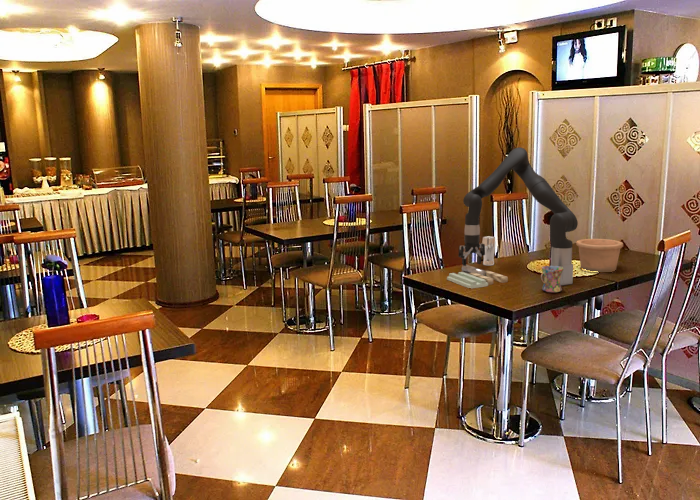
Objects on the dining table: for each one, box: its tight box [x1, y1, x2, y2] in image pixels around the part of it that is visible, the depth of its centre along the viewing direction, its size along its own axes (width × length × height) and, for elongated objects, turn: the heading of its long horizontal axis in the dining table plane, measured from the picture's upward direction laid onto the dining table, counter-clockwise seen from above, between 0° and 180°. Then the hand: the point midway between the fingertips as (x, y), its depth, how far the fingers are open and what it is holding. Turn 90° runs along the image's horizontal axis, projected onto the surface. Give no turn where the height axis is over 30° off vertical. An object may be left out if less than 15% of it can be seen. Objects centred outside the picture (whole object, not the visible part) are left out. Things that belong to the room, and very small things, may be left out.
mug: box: [540, 265, 564, 294], centre depth 262 cm, size 12×9×11 cm
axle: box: [461, 264, 487, 276], centre depth 298 cm, size 16×4×4 cm, turn 22°
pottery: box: [575, 238, 624, 273], centre depth 300 cm, size 22×22×14 cm
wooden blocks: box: [469, 270, 509, 286], centre depth 286 cm, size 16×11×2 cm
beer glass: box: [481, 235, 496, 266], centre depth 319 cm, size 7×7×15 cm
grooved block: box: [446, 271, 489, 289], centre depth 282 cm, size 20×10×3 cm, turn 22°
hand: (471, 264), depth 299 cm, fingers open, 8 cm apart
